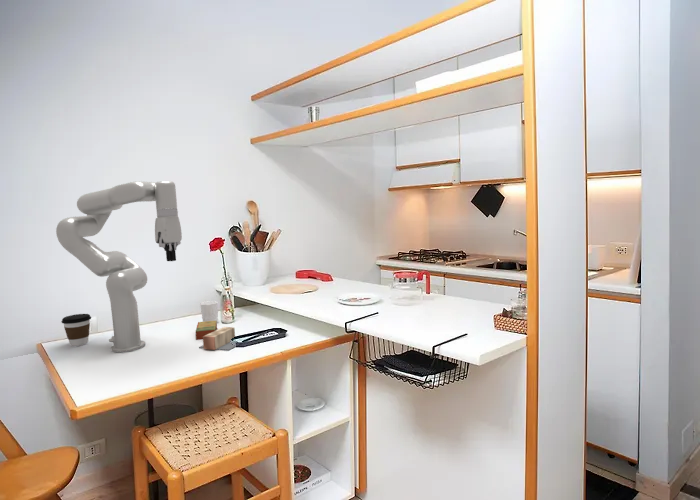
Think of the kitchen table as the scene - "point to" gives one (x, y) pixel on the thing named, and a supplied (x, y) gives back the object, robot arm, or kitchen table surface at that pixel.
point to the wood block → (218, 338)
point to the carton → (205, 328)
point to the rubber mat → (223, 347)
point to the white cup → (209, 311)
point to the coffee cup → (77, 328)
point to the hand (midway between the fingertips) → (171, 260)
